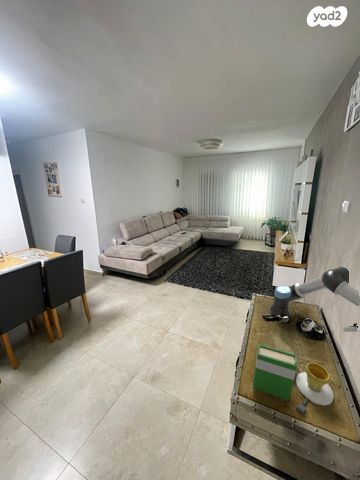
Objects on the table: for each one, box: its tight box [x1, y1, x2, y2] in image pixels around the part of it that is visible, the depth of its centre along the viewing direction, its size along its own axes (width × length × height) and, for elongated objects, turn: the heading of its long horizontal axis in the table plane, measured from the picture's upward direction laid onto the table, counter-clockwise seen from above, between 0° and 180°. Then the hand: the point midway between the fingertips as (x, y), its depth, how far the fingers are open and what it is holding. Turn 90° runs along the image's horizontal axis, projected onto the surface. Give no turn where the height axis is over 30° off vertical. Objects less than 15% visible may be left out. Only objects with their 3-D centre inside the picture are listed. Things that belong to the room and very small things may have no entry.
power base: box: [295, 371, 334, 415], centre depth 105 cm, size 26×17×2 cm, turn 128°
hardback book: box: [252, 343, 298, 402], centre depth 105 cm, size 18×7×24 cm, turn 67°
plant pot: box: [305, 362, 331, 390], centre depth 107 cm, size 10×10×10 cm
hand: (354, 338), depth 102 cm, fingers open, 13 cm apart
